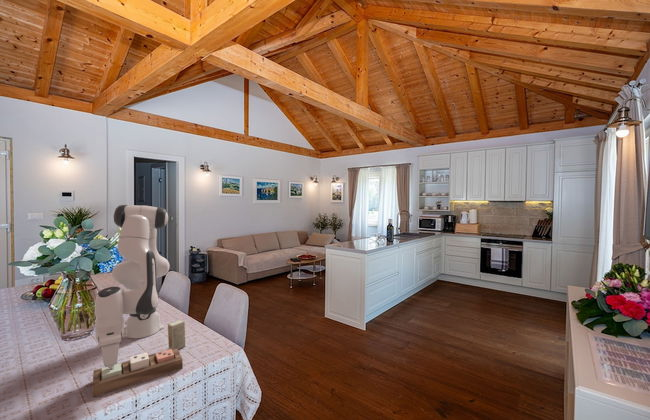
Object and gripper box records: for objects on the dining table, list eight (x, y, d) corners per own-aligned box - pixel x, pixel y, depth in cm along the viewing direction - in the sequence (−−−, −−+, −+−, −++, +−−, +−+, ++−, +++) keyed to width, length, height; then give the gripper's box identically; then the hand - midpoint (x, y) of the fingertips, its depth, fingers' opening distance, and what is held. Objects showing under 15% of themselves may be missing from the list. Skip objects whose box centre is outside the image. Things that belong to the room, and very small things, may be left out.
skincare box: (181, 343, 141) (181, 319, 140) (185, 346, 138) (185, 321, 137) (167, 348, 136) (167, 323, 135) (171, 352, 133) (171, 325, 132)
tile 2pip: (130, 368, 116) (129, 356, 116) (147, 363, 120) (147, 351, 120) (131, 376, 112) (130, 363, 111) (149, 370, 115) (149, 358, 115)
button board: (93, 380, 112) (93, 370, 112) (176, 355, 129) (176, 347, 129) (92, 397, 102) (92, 386, 102) (182, 368, 120) (182, 358, 120)
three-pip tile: (155, 364, 122) (155, 352, 122) (171, 360, 125) (171, 348, 125) (157, 371, 117) (157, 358, 117) (174, 366, 121) (174, 354, 121)
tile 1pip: (102, 380, 111) (101, 367, 111) (121, 375, 115) (120, 362, 114) (102, 389, 106) (101, 375, 106) (121, 382, 110) (121, 369, 110)
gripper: (100, 323, 116) (101, 356, 117) (98, 344, 100) (99, 382, 100) (119, 319, 120) (120, 351, 121) (121, 339, 104) (121, 376, 104)
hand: (110, 366), depth 110 cm, fingers closed
